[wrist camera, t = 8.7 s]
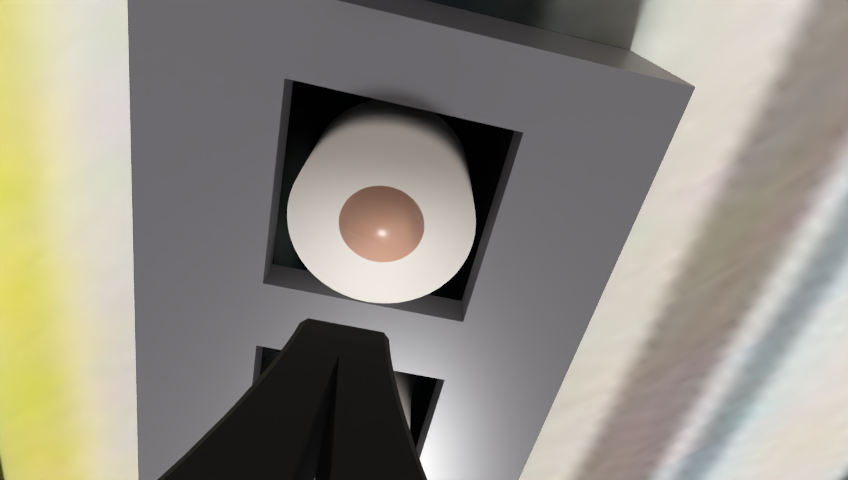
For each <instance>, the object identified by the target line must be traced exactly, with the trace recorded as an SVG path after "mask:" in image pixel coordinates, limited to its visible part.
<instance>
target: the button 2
mask: <svg viewBox="0 0 848 480" xmlns="http://www.w3.org/2000/svg"><path fill="white" fill-rule="evenodd" d="M287 223H288V230H289V234H290V238H291V241H292V243H293V246H294V248H295V250H296V252H297V254H298V256H299V258H300V259H301V261H302V262H303V263H304V265H305V266H306V267H307V269H308V270H309V271H310V272H311V273H312V274H313V275H314V276H315V277H316V278H318V279H319V280H320V281H321V282H322V283H324V284H325V285H327V286H328V287H330V288H331V289H333V290H335V291H337V292H339V293H341V294H343V295H345V296H348V297H351V298H354V299H357V300H361V301H365V302H372V303H400V302H405V301H410V300H413V299H417V298H420V297H422V296H425V295H427V294H429V293H431V292H433V291H435V290H436V289H438V288H440V287H441V286H443V285H444V284H445V283H446V282H448V281H449V280H450V279H451V278H452V277H453V276H454V275H455V274H456V273H457V272H458V271H459V269H460V268H461V267H462V265H463V264H464V262H465V260H466V259H467V257H468V255H469V253H470V250H471V247H472V245H473V241H474V237H475V229H476V215H475V207H474V200H473V194H472V187H471V181H470V174H469V168H468V162H467V158H466V154H465V151H464V149H463V146H462V144H461V142H460V140H459V138H458V137H457V135H456V134H455V133H454V131H453V130H452V128H451V127H450V126H449V125H448V124H447V123H446V122H445V121H444V120H443V119H441V118H440V117H439V116H438V115H436V114H435V113H433V112H431V111H426V110H422V109H418V108H413V107H409V106H404V105H400V104H396V103H391V102H387V101H382V100H372V101H367V102H363V103H361V104H358V105H355V106H353V107H351V108H349V109H348V110H346V111H344V112H343V113H341V114H340V115H339V116H337V117H336V118H335V119H334V120H333V121H332V122H331V123H330V124H329V125H328V126H327V128H326V129H325V130H324V132H323V133H322V135H321V136H320V138H319V140H318V142H317V143H316V145H315V147H314V149H313V150H312V152H311V154H310V156H309V157H308V159H307V161H306V163H305V164H304V166H303V168H302V170H301V171H300V173H299V175H298V177H297V179H296V180H295V182H294V184H293V187H292V190H291V192H290V196H289V201H288V206H287Z"/></svg>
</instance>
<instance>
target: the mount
mask: <svg viewBox="0 0 848 480" xmlns="http://www.w3.org/2000/svg"><path fill="white" fill-rule="evenodd" d="M128 33H129V77H130V120H131V164H132V208H133V252H134V296H135V339H136V383H137V427H138V471H139V480H157V479H158V478H160V477H161V476H162V475H163V474H164V473H165V472H166V471H167V470H168V469H170V468H171V467H172V466H173V465H174V464H175V463H176V462H177V461H178V460H179V459H180V458H182V457H183V456H184V455H185V454H186V453H187V452H188V451H189V450H190V449H191V448H192V447H193V446H194V445H195V444H196V443H197V442H198V441H199V440H200V439H201V438H202V437H203V436H204V435H205V434H206V433H207V432H208V431H209V430H210V429H211V428H212V427H213V426H214V425H215V424H216V423H217V422H218V421H219V420H220V419H221V418H222V417H223V416H224V415H225V414H226V413H227V412H228V411H229V410H230V409H231V408H232V407H233V406H234V405H235V404H236V402H237V401H238V400H239V399H240V398H241V397H242V396H243V395H244V394H245V392H246V391H247V390H248V389H249V388H250V387H251V386H252V385H253V383H254V382H255V381H256V380H257V379H258V378H259V377H260V370H261V361H262V352H263V347H268V348H273V349H278V350H282V348H283V347H284V346H285V344H286V343H287V342H288V340H289V339H290V337H291V336H292V335H293V333H294V332H295V330H296V328H297V327H298V325H299V323H300V322H302V321H304V320H306V319H307V318H310V319H315V320H320V321H326V322H331V323H336V324H342V325H347V326H352V327H358V328H363V329H369V330H374V331H379V332H384V333H385V335H386V336H387V337H388V339H389V345H390V353H391V360H392V366H393V370H394V371H399V372H404V373H410V374H415V375H421V376H426V377H431V378H437V382H436V385H435V388H434V391H433V395H432V398H431V401H430V404H429V408H428V411H427V414H426V417H425V421H424V424H423V427H422V430H421V433H420V437H419V440H418V443H417V446H416V450H417V453H418V456H419V459H420V462H421V464H422V467H423V470H424V472H425V475H426V477H427V480H519V477H520V475H521V473H522V471H523V469H524V466H525V464H526V462H527V460H528V457H529V455H530V453H531V451H532V449H533V446H534V444H535V442H536V440H537V437H538V435H539V433H540V431H541V429H542V426H543V424H544V422H545V420H546V417H547V415H548V413H549V411H550V409H551V406H552V404H553V402H554V400H555V398H556V395H557V393H558V391H559V389H560V386H561V384H562V382H563V380H564V378H565V375H566V373H567V371H568V369H569V366H570V364H571V362H572V360H573V358H574V355H575V353H576V351H577V349H578V346H579V344H580V342H581V340H582V338H583V335H584V333H585V331H586V329H587V326H588V324H589V322H590V320H591V318H592V315H593V313H594V311H595V309H596V306H597V304H598V302H599V300H600V298H601V295H602V293H603V291H604V289H605V286H606V284H607V282H608V280H609V278H610V275H611V273H612V271H613V269H614V266H615V264H616V262H617V260H618V258H619V255H620V253H621V251H622V249H623V246H624V244H625V242H626V240H627V238H628V235H629V233H630V231H631V229H632V226H633V224H634V222H635V220H636V218H637V215H638V213H639V211H640V209H641V206H642V204H643V202H644V200H645V198H646V195H647V193H648V191H649V189H650V186H651V184H652V182H653V180H654V178H655V175H656V173H657V171H658V169H659V166H660V164H661V162H662V160H663V158H664V155H665V153H666V151H667V149H668V146H669V144H670V142H671V140H672V138H673V135H674V133H675V131H676V129H677V127H678V124H679V122H680V120H681V118H682V115H683V113H684V111H685V109H686V107H687V104H688V102H689V100H690V98H691V95H692V93H693V91H694V89H695V87H694V86H693V85H691V84H689V83H687V82H686V81H684V80H682V79H680V78H678V77H677V76H675V75H673V74H671V73H670V72H668V71H666V70H664V69H662V68H661V67H659V66H657V65H655V64H653V63H652V62H650V61H648V60H646V59H645V58H643V57H641V56H639V55H637V54H636V53H634V52H632V51H630V50H626V49H622V48H618V47H614V46H610V45H605V44H601V43H597V42H593V41H589V40H585V39H581V38H577V37H573V36H569V35H565V34H561V33H557V32H553V31H548V30H544V29H540V28H536V27H532V26H528V25H524V24H520V23H516V22H512V21H508V20H504V19H500V18H496V17H491V16H487V15H483V14H479V13H475V12H471V11H467V10H463V9H459V8H455V7H451V6H447V5H443V4H439V3H434V2H430V1H426V0H128ZM293 80H294V81H299V82H303V83H308V84H312V85H316V86H321V87H325V88H330V89H334V90H338V91H343V92H347V93H352V94H356V95H360V96H365V97H369V98H374V99H378V100H382V101H387V102H391V103H396V104H400V105H404V106H409V107H413V108H418V109H422V110H426V111H431V112H435V113H440V114H444V115H448V116H453V117H457V118H462V119H466V120H470V121H475V122H479V123H484V124H488V125H492V126H497V127H501V128H506V129H510V130H514V134H513V137H512V140H511V143H510V147H509V150H508V153H507V156H506V159H505V163H504V166H503V169H502V172H501V176H500V179H499V182H498V185H497V188H496V192H495V195H494V198H493V201H492V205H491V208H490V211H489V214H488V217H487V221H486V224H485V227H484V230H483V234H482V237H481V240H480V243H479V246H478V250H477V253H476V256H475V259H474V263H473V266H472V269H471V272H470V275H469V279H468V282H467V285H466V288H465V292H464V295H463V298H462V301H459V300H454V299H448V298H443V297H438V296H433V295H428V294H427V295H425V296H422V297H420V298H417V299H413V300H410V301H405V302H400V303H372V302H365V301H361V300H357V299H354V298H351V297H348V296H345V295H343V294H341V293H339V292H337V291H335V290H333V289H331V288H330V287H328V286H327V285H325V284H324V283H322V282H321V281H320V280H319V279H318V278H316V277H315V276H314V275H313V274H312V273H311V272H310V271H306V270H301V269H296V268H291V267H286V266H281V265H276V264H273V255H274V246H275V238H276V229H277V220H278V211H279V202H280V193H281V185H282V176H283V167H284V158H285V149H286V140H287V132H288V123H289V114H290V105H291V96H292V88H293Z"/></svg>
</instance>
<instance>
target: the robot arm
mask: <svg viewBox="0 0 848 480" xmlns="http://www.w3.org/2000/svg"><path fill="white" fill-rule="evenodd" d="M157 480H427V477H426V475H425V472H424V470H423V467H422V464H421V462H420V459H419V456H418V453H417V450H416V448H415V444H414V441H413V438H412V435H411V432H410V429H409V426H408V423H407V420H406V417H405V413H404V410H403V406H402V403H401V399H400V396H399V392H398V388H397V384H396V380H395V375H394V370H393V366H392V360H391V353H390V345H389V339H388V337H387V336H386V335H385V333H384V332H379V331H374V330H369V329H363V328H358V327H352V326H347V325H342V324H336V323H331V322H326V321H320V320H315V319H310V318H307V319H306V320H304V321H302V322H300V323H299V325H298V327H297V328H296V330H295V332H294V333H293V335H292V336H291V337H290V339H289V340H288V342H287V343H286V344H285V346H284V347H283V348H282V350H281V351H280V352H279V354H278V355H277V356H276V357H275V359H274V360H273V361H272V362H271V364H270V365H269V366H268V367H267V368H266V370H265V371H264V372H263V373H262V375H261V376H260V377H259V378H258V379H257V380H256V381H255V382H254V383H253V385H252V386H251V387H250V388H249V389H248V390H247V391H246V392H245V394H244V395H243V396H242V397H241V398H240V399H239V400H238V401H237V402H236V404H235V405H234V406H233V407H232V408H231V409H230V410H229V411H228V412H227V413H226V414H225V415H224V416H223V417H222V418H221V419H220V420H219V421H218V422H217V423H216V424H215V425H214V426H213V427H212V428H211V429H210V430H209V431H208V432H207V433H206V434H205V435H204V436H203V437H202V438H201V439H200V440H199V441H198V442H197V443H196V444H195V445H194V446H193V447H192V448H191V449H190V450H189V451H188V452H187V453H186V454H185V455H184V456H183V457H182V458H180V459H179V460H178V461H177V462H176V463H175V464H174V465H173V466H172V467H171V468H170V469H168V470H167V471H166V472H165V473H164V474H163V475H162V476H161V477H160V478H158V479H157Z"/></svg>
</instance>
